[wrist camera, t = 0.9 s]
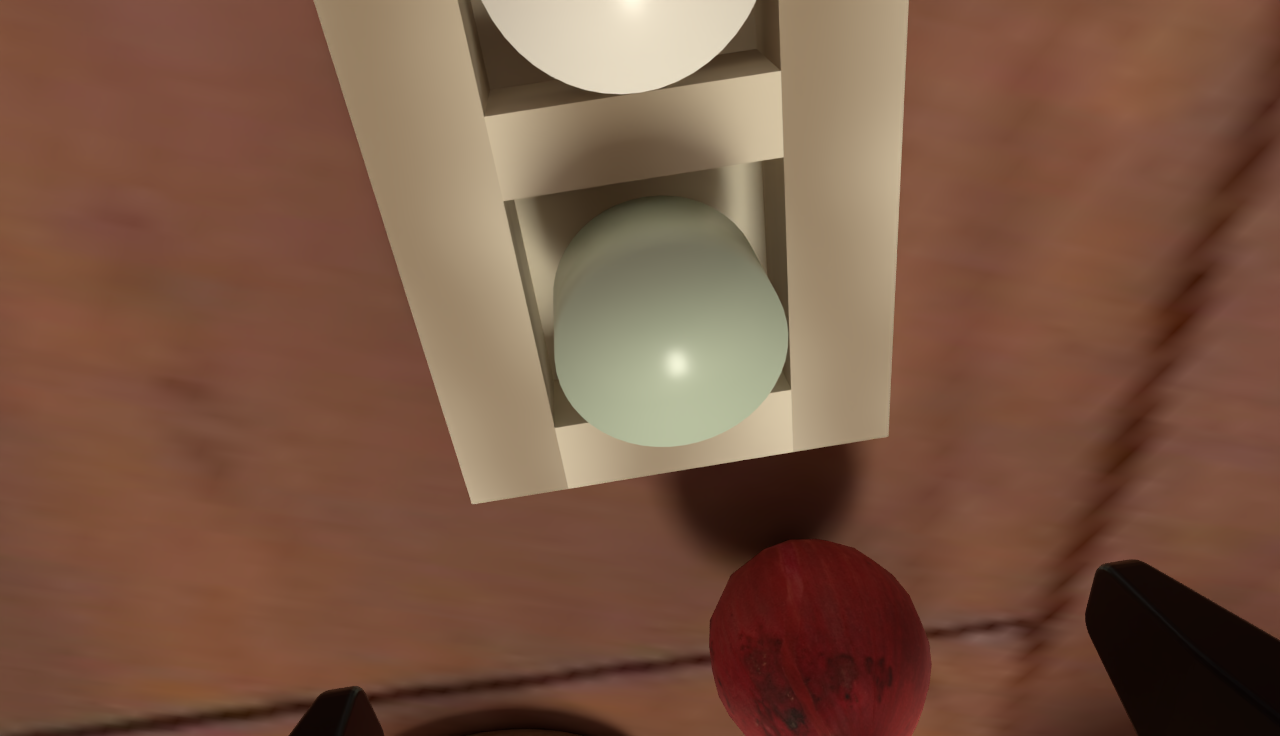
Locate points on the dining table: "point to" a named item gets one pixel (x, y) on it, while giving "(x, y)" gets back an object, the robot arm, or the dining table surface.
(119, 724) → the dining table surface
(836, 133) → the wooden compartment tray
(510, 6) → the button cream
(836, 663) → the onion
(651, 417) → the button sage
